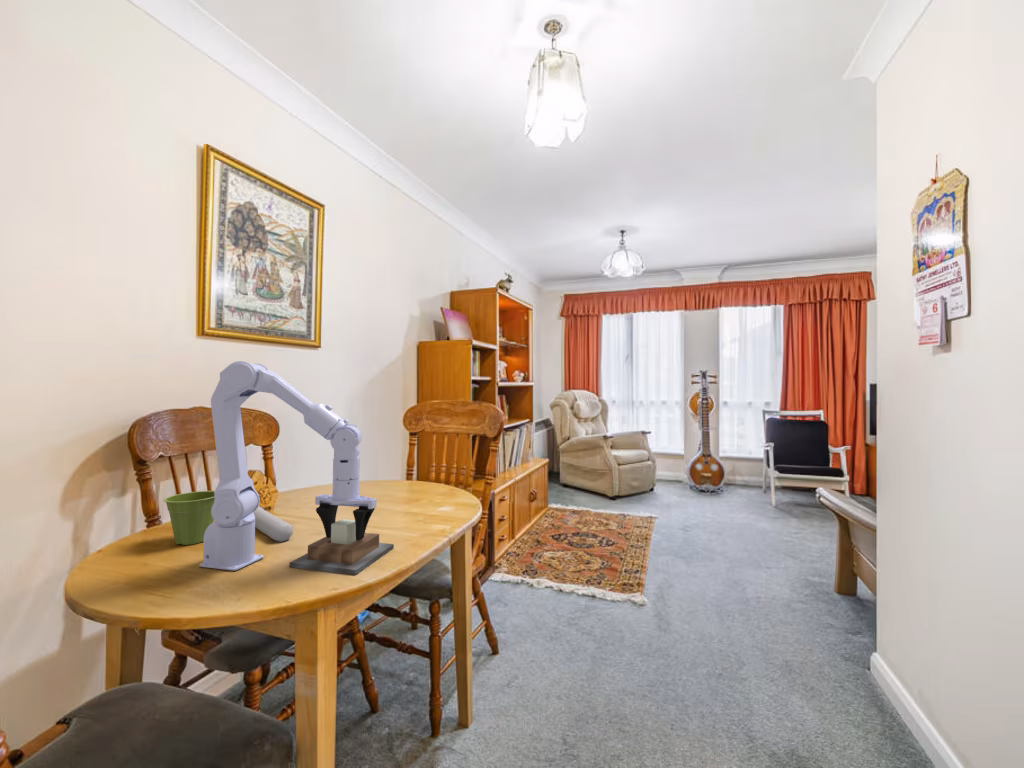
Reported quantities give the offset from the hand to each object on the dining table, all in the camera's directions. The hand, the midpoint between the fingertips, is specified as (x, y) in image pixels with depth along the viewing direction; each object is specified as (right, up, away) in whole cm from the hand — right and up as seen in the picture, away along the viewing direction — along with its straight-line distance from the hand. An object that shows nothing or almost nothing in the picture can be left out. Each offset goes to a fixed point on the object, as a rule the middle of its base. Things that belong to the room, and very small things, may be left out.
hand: (345, 537), depth 100 cm
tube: (-28, -5, +18) cm, 33 cm away
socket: (0, -4, 0) cm, 4 cm away
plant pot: (-42, -4, +10) cm, 43 cm away
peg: (0, -3, 0) cm, 3 cm away
